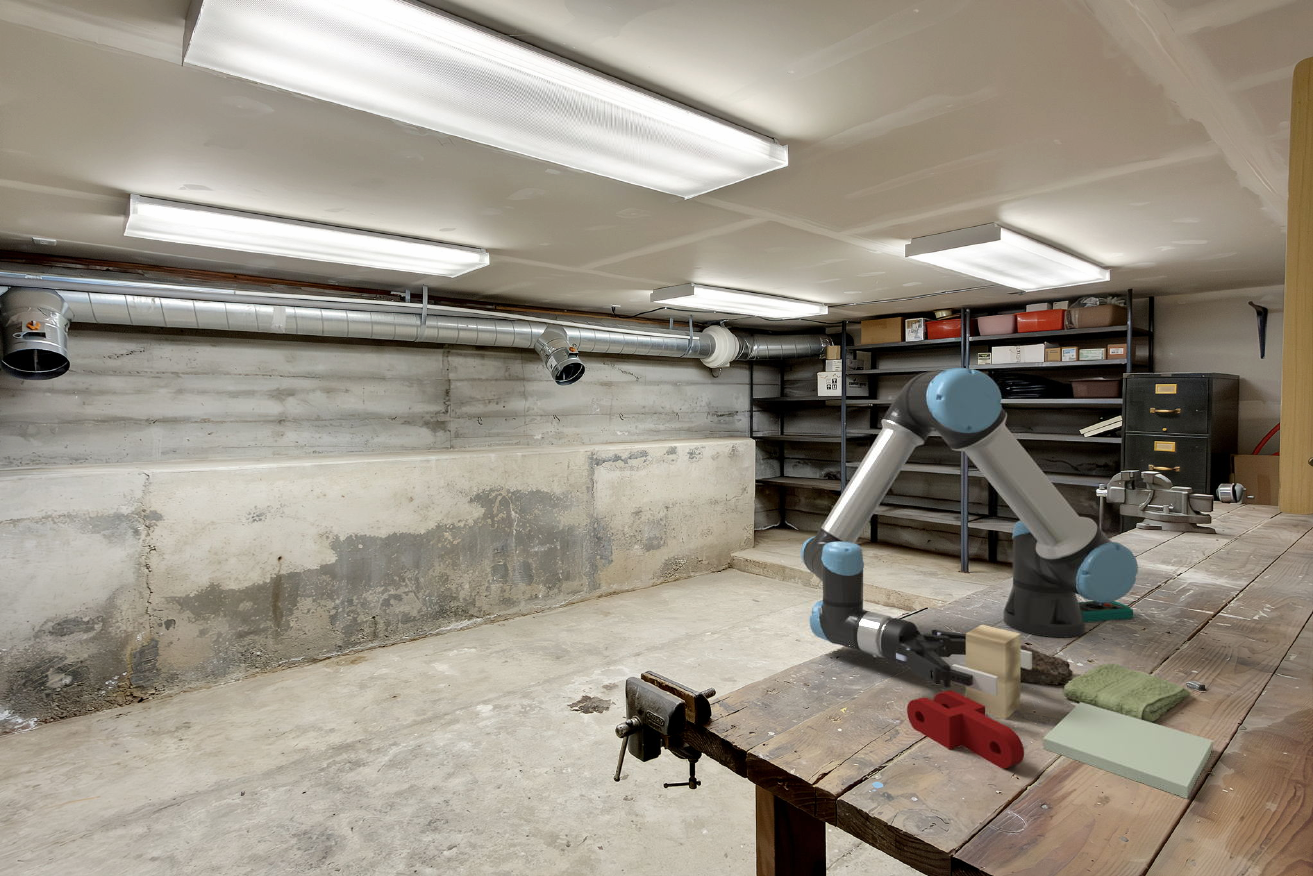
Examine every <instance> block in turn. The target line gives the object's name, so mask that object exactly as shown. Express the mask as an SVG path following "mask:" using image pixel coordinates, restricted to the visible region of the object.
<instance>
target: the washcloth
mask: <svg viewBox="0 0 1313 876" xmlns="http://www.w3.org/2000/svg"><path fill="white" fill-rule="evenodd" d="M1062 692H1063V694H1064V697H1065V698H1067V699H1068V700H1071V699H1072V701H1074V702H1077V701H1078V703H1080V702H1082V703H1085V704H1089V705H1092V706H1096V707H1099V708H1103V709H1106V710H1109V711H1113V712H1116V713H1120V714H1123V715H1127V716H1130V717H1134V718H1137V719H1140V720H1144V721H1147V722H1151V723H1154V722H1155V721H1156V720H1157V721H1158V719H1159V718H1160V717H1161V716H1164V715H1165V714H1166V713H1167V712H1168V711H1169V710H1170V709H1171V708H1174V707H1175V706H1176V705H1177V704H1179V703H1180V702H1181V701H1183V700H1184V699H1185V698H1186V697H1188V698H1189V697H1191V691H1189V690H1188V689H1187V688H1186V687H1185V688H1184V687H1183V686H1182V685H1180V684H1177V683H1174V682H1170V681H1168V680H1164V679H1162V678H1160V677H1158V676H1156V675H1152V674H1150V673H1147V672H1145V671H1139V670H1131V669H1128V668H1126V667H1123V666H1122V665H1120V664H1118V663H1110V662H1109V663H1106V664H1105V663H1104V664H1098V665H1097V666H1095V668H1092V669H1090V670H1088V671H1087V672H1085V673H1083V674H1081V675H1079V676H1075V677H1074V678H1071V681H1069V682H1068V683H1067V684H1065V685H1064V687H1063V690H1062ZM1165 712H1166V713H1165Z"/></svg>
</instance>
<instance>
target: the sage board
mask: <svg viewBox="0 0 1313 876" xmlns="http://www.w3.org/2000/svg"><path fill="white" fill-rule="evenodd" d="M1213 744H1214V740H1212V739H1208V738H1206V737H1202V736H1198V735H1195V734H1191V733H1188V732H1184V731H1182V730H1178V729H1174V728H1171V727H1167V726H1166V725H1165V726H1164V725H1160V724H1157V723H1154V722H1147V721H1144V720H1140V719H1137V718H1134V717H1130V716H1127V715H1123V714H1120V713H1116V712H1113V711H1109V710H1106V709H1103V708H1099V707H1096V706H1092V705H1089V704H1085V703H1082V702H1078V704H1077V705H1076V706H1075V707H1074V708H1073V709H1071V711H1070V712H1069V713H1068V714H1067V715H1065V717H1063V718H1062V719H1061V720H1060V722H1059V723H1057V724H1056V725H1055V727H1053V728H1052V729H1051V730H1050V731H1049V732H1048V733H1047V734H1046V735H1045V736H1044V737H1043V738H1042V748H1043V749H1044V750H1046V751H1049V752H1052V753H1055V754H1058V755H1061V756H1063V757H1067V758H1069V759H1072V760H1075V761H1077V762H1081V763H1083V764H1086V765H1089V766H1092V767H1095V768H1097V769H1100V770H1103V771H1107V772H1110V773H1112V774H1115V775H1117V776H1120V777H1123V778H1126V779H1129V780H1131V781H1135V782H1137V781H1138V783H1140V782H1141V783H1140V784H1143V783H1144V785H1146V786H1149V785H1150V786H1149V787H1152V788H1154V787H1155V789H1157V788H1158V789H1157V790H1160V789H1162V790H1161V791H1163V790H1164V792H1166V791H1167V792H1166V793H1169V792H1170V793H1169V794H1172V795H1174V794H1176V795H1175V796H1177V795H1179V796H1178V797H1180V798H1183V799H1185V800H1187V799H1188V797H1189V796H1190V793H1191V792H1192V791H1193V788H1194V787H1193V786H1195V785H1196V783H1197V781H1198V779H1199V777H1200V776H1201V774H1202V772H1203V770H1204V768H1205V766H1206V764H1207V763H1208V761H1207V760H1209V759H1208V757H1209V755H1210V753H1211V751H1212V750H1214V745H1213ZM1212 752H1213V751H1212ZM1211 754H1212V753H1211ZM1210 756H1211V755H1210ZM1209 758H1210V757H1209ZM1205 763H1206V764H1205ZM1204 765H1205V766H1204ZM1203 767H1204V768H1203ZM1202 769H1203V770H1202ZM1201 771H1202V772H1201ZM1200 773H1201V774H1200ZM1198 776H1199V777H1198ZM1197 778H1198V779H1197ZM1196 780H1197V781H1196ZM1195 782H1196V783H1195ZM1194 784H1195V785H1194Z"/></svg>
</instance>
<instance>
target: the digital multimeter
mask: <svg viewBox="0 0 1313 876" xmlns="http://www.w3.org/2000/svg"><path fill="white" fill-rule="evenodd" d="M1078 603H1079V605H1080V608H1081V611H1082V614H1083V617H1084V619H1085V624H1086V623H1093V622H1102V621H1115V620H1125V619H1128V620H1129V619H1133V618H1134V609H1132V607H1130V606H1128V605H1126V604H1123V603H1121V602H1118V601H1113V602H1108V603H1107V602H1106V603H1102V602H1096V601H1093V600H1088V601H1087V600H1086V601H1078Z"/></svg>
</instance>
